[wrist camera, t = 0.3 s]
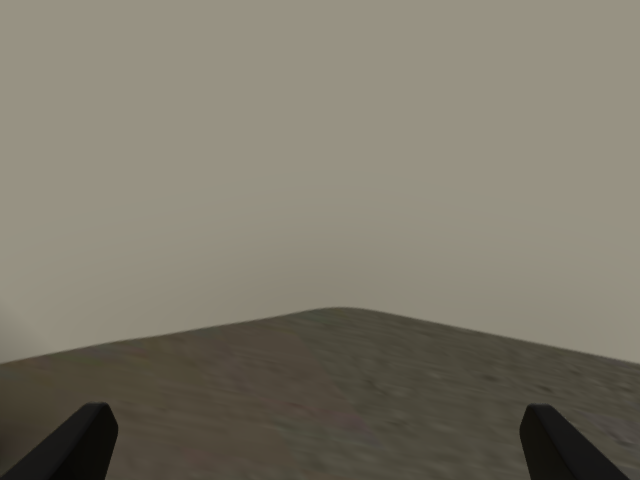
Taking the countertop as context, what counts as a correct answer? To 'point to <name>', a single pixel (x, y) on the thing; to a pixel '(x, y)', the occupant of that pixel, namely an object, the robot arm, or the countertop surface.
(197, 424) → the countertop surface
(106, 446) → the robot arm
